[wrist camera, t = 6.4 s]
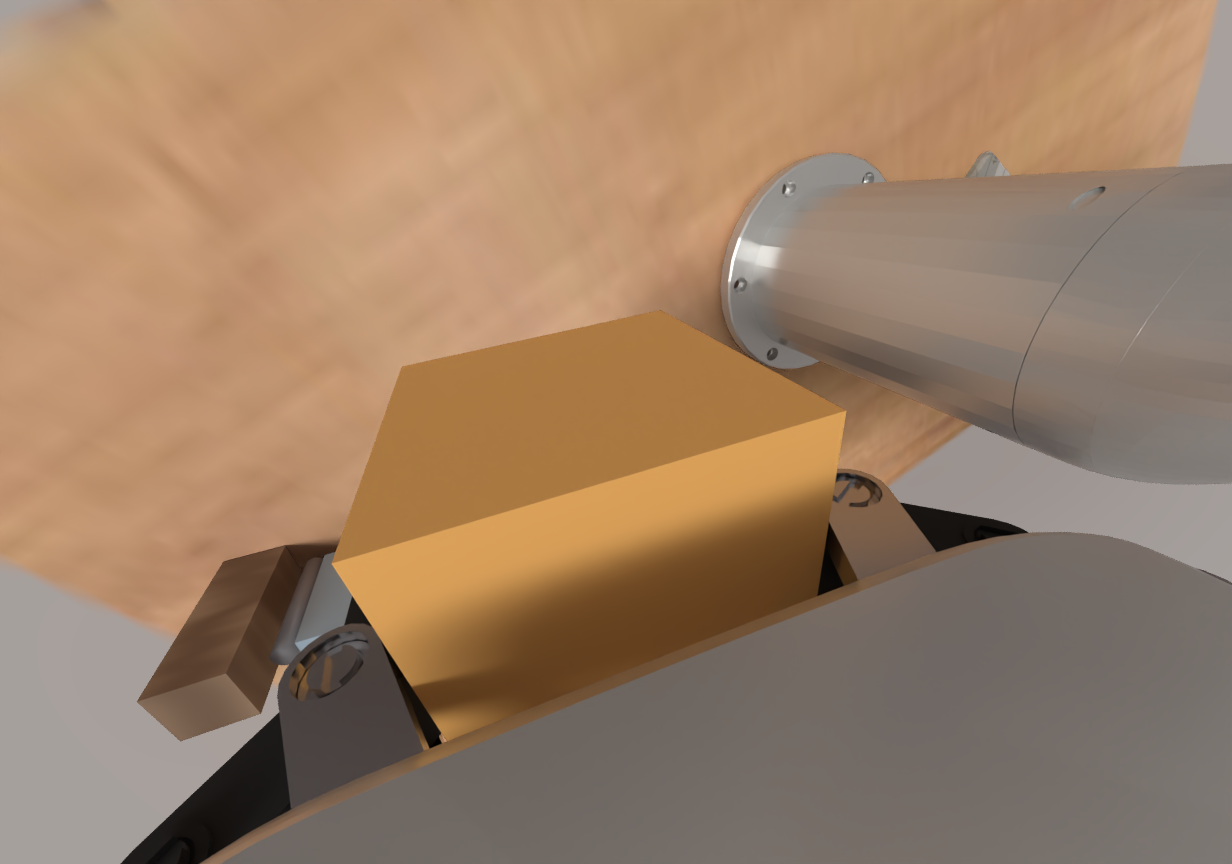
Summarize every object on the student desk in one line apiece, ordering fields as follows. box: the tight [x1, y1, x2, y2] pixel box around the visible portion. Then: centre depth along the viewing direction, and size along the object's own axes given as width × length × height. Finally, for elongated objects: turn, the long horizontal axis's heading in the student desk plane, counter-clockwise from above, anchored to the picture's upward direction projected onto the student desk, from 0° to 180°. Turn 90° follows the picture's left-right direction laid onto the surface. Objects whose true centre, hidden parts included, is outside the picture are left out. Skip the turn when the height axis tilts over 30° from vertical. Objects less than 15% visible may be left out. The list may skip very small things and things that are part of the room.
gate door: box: [270, 552, 352, 665], centre depth 25 cm, size 21×1×6 cm, turn 95°
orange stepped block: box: [331, 310, 846, 741], centre depth 10 cm, size 11×6×6 cm, turn 7°
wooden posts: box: [137, 546, 302, 741], centre depth 25 cm, size 35×3×8 cm, turn 95°
